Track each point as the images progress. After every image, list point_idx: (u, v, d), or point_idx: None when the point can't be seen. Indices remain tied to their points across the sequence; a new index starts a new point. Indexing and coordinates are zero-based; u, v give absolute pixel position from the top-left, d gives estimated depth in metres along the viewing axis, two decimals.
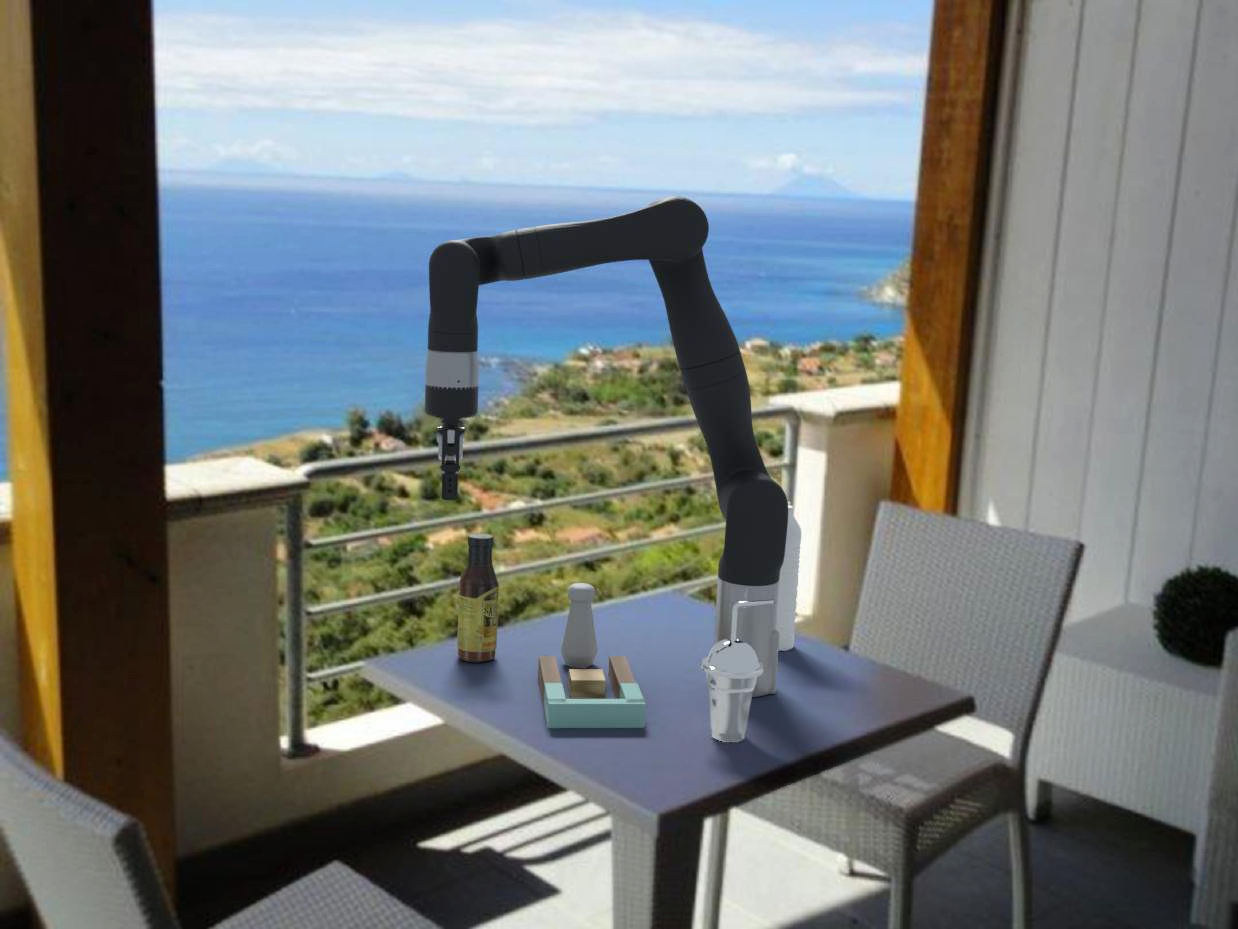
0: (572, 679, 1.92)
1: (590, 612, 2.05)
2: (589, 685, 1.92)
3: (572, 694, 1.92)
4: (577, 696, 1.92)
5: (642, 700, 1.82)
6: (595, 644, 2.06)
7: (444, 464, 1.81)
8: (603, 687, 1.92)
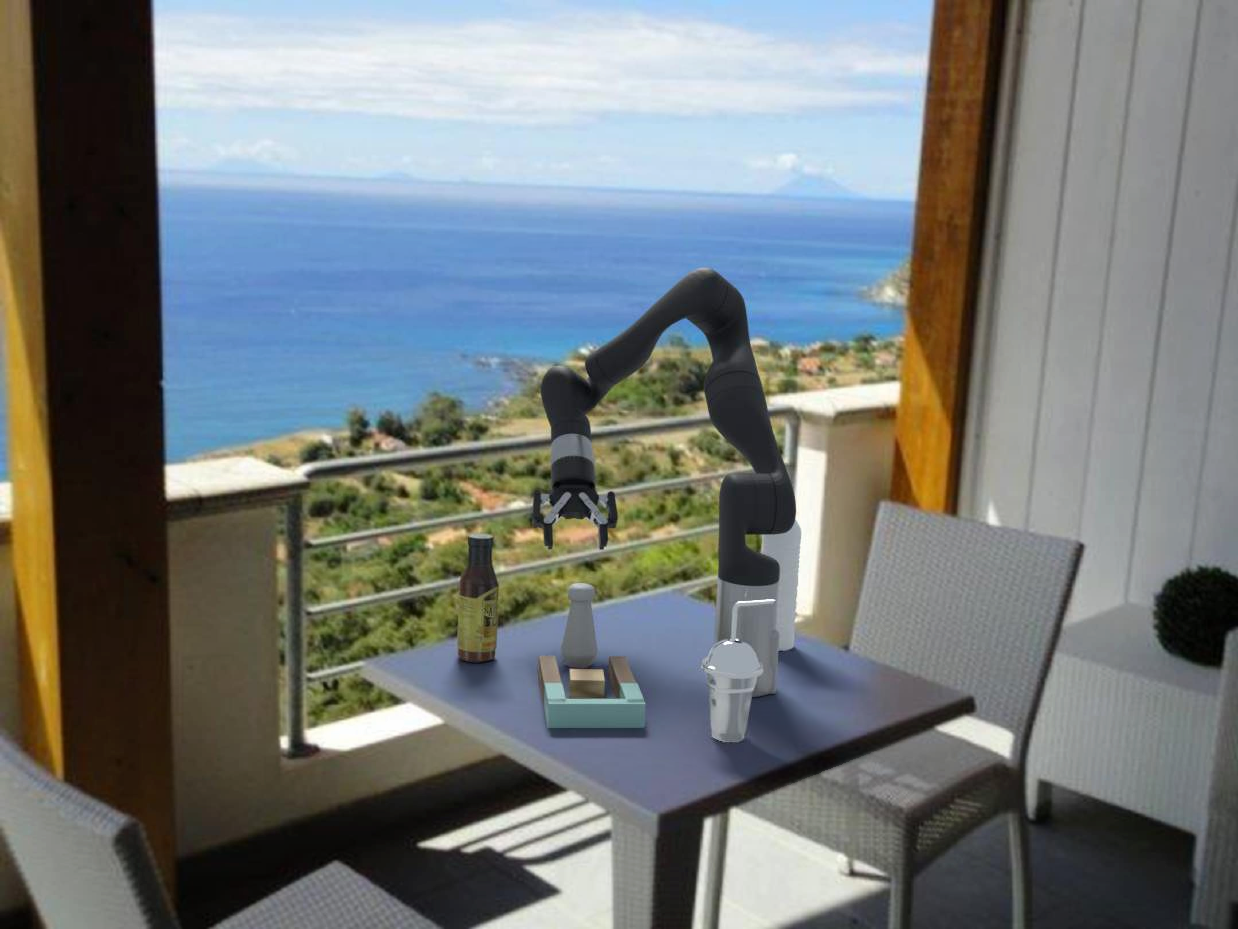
0: (571, 679, 1.92)
1: (590, 612, 2.05)
2: (588, 685, 1.92)
3: (571, 694, 1.92)
4: (576, 696, 1.92)
5: (642, 700, 1.82)
6: (595, 644, 2.06)
7: None
8: (602, 687, 1.92)
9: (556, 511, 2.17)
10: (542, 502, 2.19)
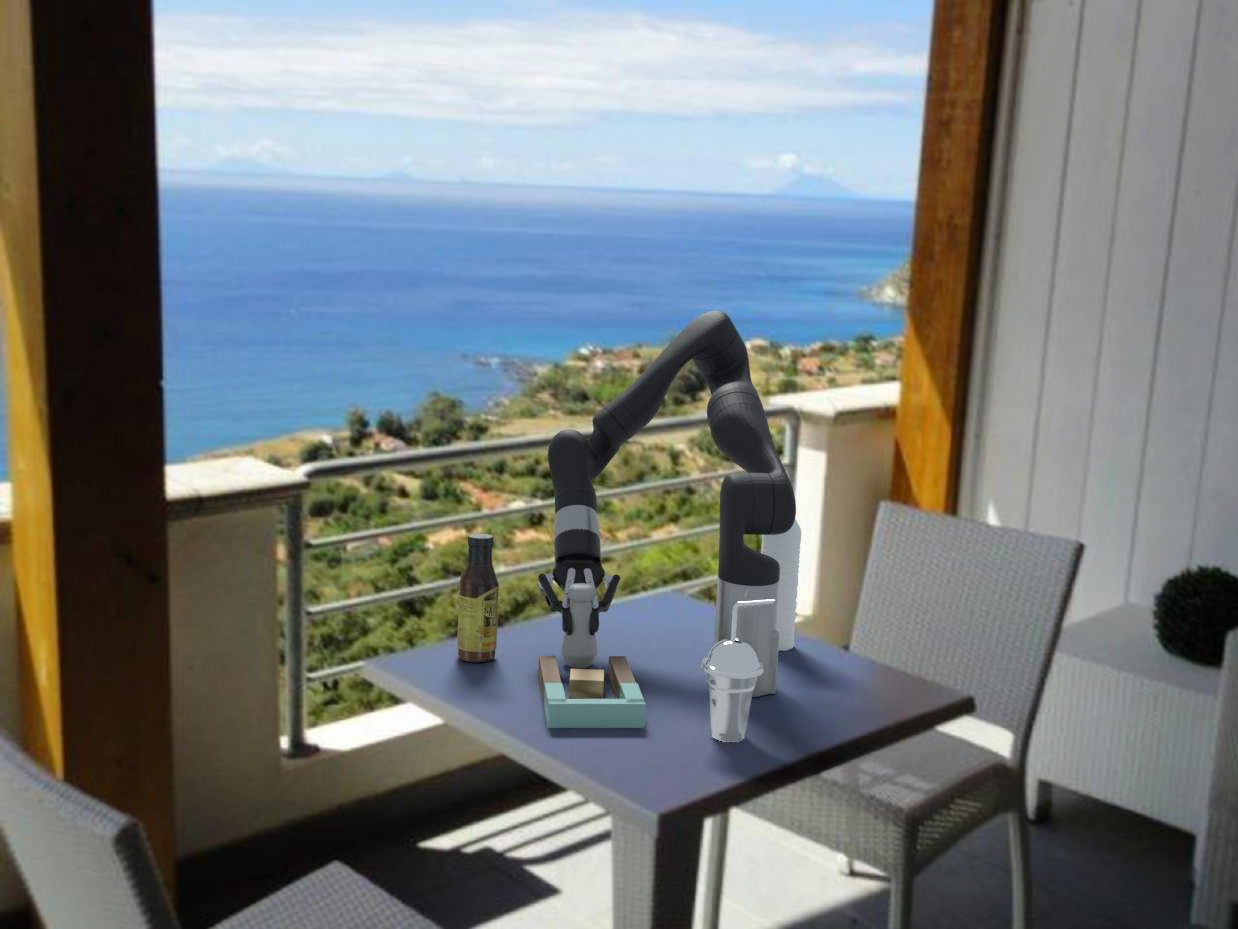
0: (570, 678, 1.92)
1: (590, 612, 2.05)
2: (587, 685, 1.92)
3: (570, 693, 1.92)
4: (575, 695, 1.92)
5: (642, 700, 1.82)
6: (595, 644, 2.06)
7: (609, 601, 2.07)
8: (601, 687, 1.92)
9: None
10: (550, 583, 2.08)
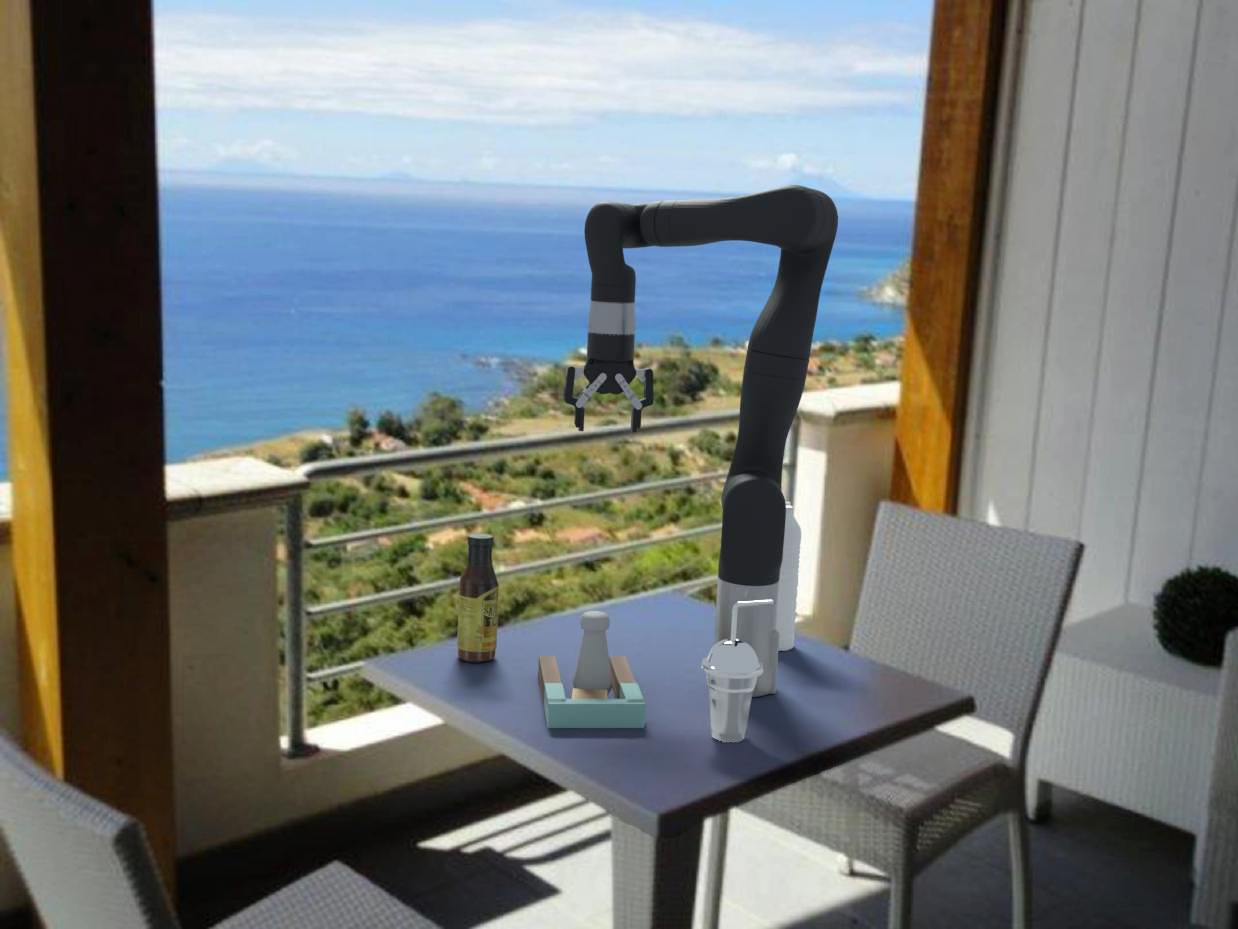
0: None
1: (605, 642, 1.90)
2: None
3: None
4: None
5: (642, 700, 1.82)
6: (610, 677, 1.91)
7: (652, 399, 2.10)
8: None
9: (589, 395, 2.07)
10: (576, 378, 2.08)
